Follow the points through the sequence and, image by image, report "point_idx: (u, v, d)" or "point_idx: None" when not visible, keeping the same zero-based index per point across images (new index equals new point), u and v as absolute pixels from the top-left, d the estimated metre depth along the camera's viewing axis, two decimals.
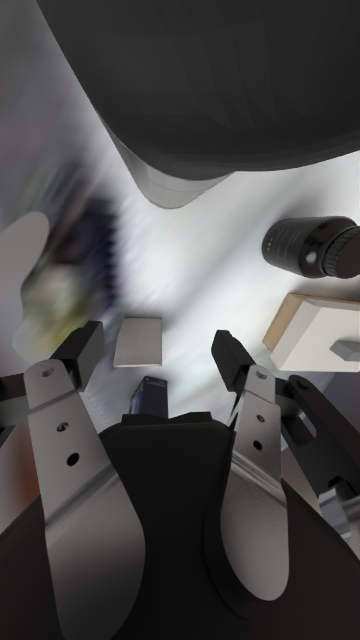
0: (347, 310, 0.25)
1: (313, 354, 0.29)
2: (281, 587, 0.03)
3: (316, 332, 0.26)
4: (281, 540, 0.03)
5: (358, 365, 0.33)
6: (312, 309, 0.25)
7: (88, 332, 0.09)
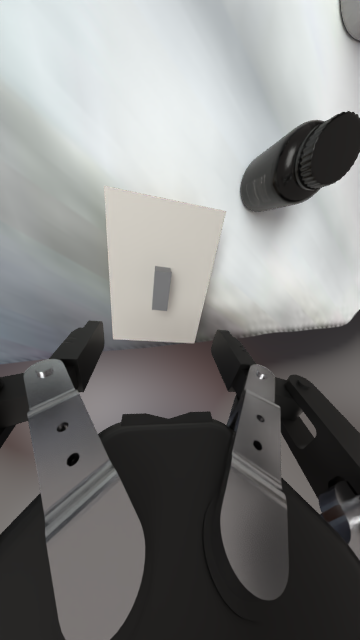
0: (214, 255, 0.21)
1: (144, 244, 0.20)
2: (281, 587, 0.03)
3: (186, 225, 0.19)
4: (281, 540, 0.03)
5: (125, 330, 0.25)
6: None
7: (88, 332, 0.09)
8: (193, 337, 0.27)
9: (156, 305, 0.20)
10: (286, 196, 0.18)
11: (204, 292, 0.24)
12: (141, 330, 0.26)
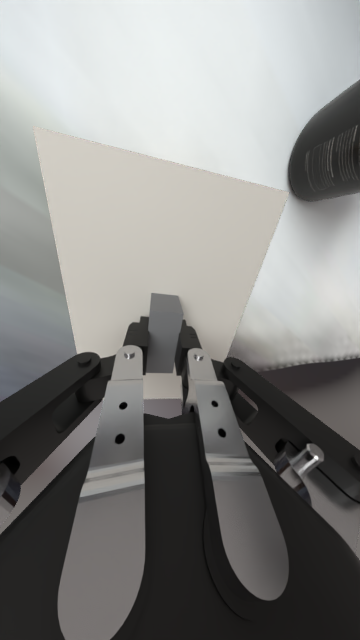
0: (256, 274, 0.12)
1: (131, 255, 0.10)
2: (281, 587, 0.03)
3: (211, 220, 0.10)
4: (281, 540, 0.03)
5: None
6: None
7: (145, 325, 0.10)
8: None
9: (153, 366, 0.11)
10: None
11: (232, 331, 0.14)
12: None
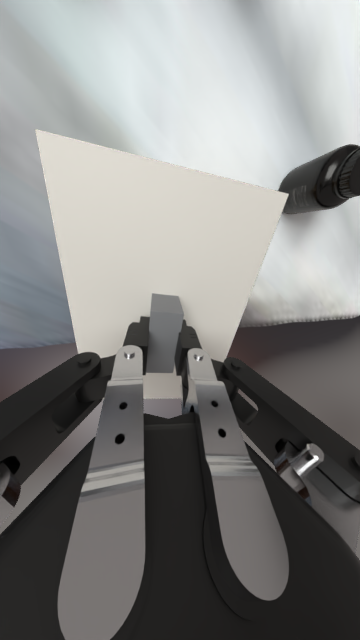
0: (256, 274, 0.12)
1: (131, 256, 0.10)
2: (281, 587, 0.03)
3: (211, 221, 0.10)
4: (281, 540, 0.03)
5: None
6: None
7: (145, 325, 0.10)
8: None
9: (154, 366, 0.11)
10: (323, 202, 0.22)
11: (232, 331, 0.14)
12: None
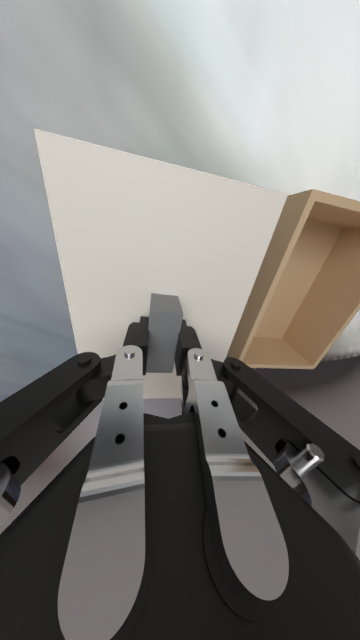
0: (255, 274, 0.12)
1: (131, 256, 0.10)
2: (281, 587, 0.03)
3: (210, 221, 0.10)
4: (281, 540, 0.03)
5: None
6: None
7: (145, 325, 0.10)
8: None
9: (153, 366, 0.11)
10: None
11: (232, 331, 0.14)
12: None
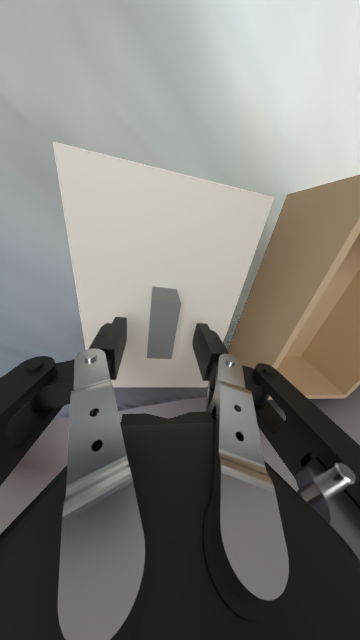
0: (247, 270, 0.13)
1: (134, 252, 0.12)
2: (281, 587, 0.03)
3: (205, 221, 0.11)
4: (281, 540, 0.03)
5: None
6: None
7: (117, 327, 0.10)
8: None
9: (154, 352, 0.13)
10: None
11: (226, 323, 0.16)
12: (133, 374, 0.18)
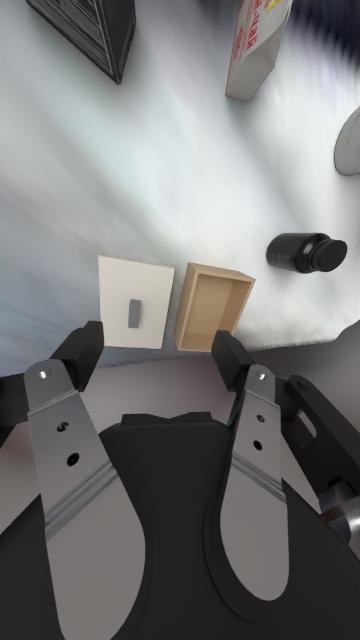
0: (170, 293, 0.33)
1: (123, 286, 0.31)
2: (281, 587, 0.03)
3: (150, 276, 0.31)
4: (281, 540, 0.03)
5: (110, 340, 0.36)
6: (169, 266, 0.31)
7: (88, 332, 0.09)
8: (160, 344, 0.39)
9: (131, 325, 0.32)
10: (301, 270, 0.29)
11: (165, 315, 0.35)
12: (122, 339, 0.36)
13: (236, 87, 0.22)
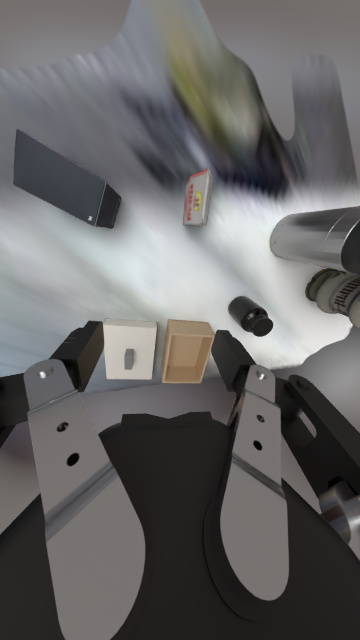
0: (154, 343, 0.45)
1: (120, 341, 0.43)
2: (281, 587, 0.03)
3: (139, 334, 0.42)
4: (281, 540, 0.03)
5: (113, 375, 0.49)
6: (153, 326, 0.43)
7: (88, 332, 0.09)
8: (150, 376, 0.51)
9: (126, 367, 0.44)
10: (247, 331, 0.39)
11: (152, 357, 0.47)
12: (121, 374, 0.49)
13: (188, 224, 0.33)
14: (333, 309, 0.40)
